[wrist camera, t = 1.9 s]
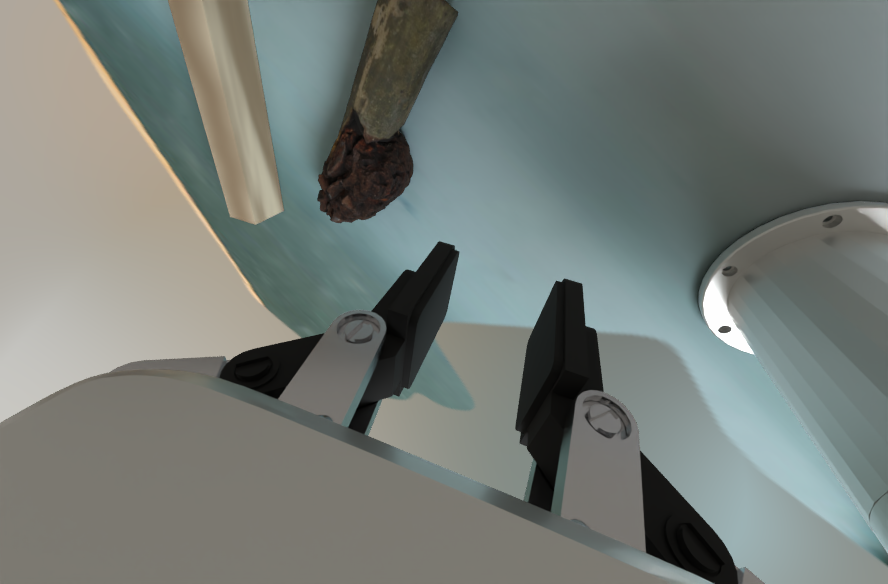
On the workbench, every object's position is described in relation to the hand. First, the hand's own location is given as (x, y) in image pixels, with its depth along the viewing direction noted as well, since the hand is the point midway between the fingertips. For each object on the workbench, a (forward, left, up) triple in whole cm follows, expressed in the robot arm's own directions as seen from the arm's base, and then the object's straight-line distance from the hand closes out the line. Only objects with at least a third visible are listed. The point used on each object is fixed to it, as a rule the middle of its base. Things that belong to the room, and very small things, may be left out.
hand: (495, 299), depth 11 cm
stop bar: (+26, 0, -17) cm, 31 cm away
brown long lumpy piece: (+12, -1, -18) cm, 21 cm away
